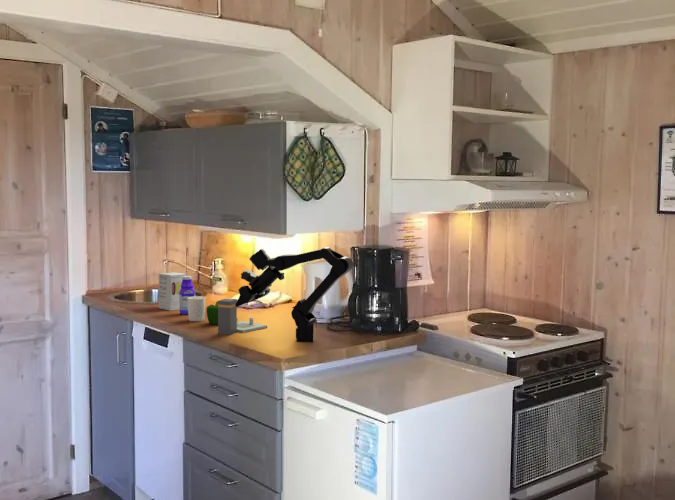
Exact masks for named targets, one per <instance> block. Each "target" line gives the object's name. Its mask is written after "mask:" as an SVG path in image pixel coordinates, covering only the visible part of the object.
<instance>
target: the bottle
mask: <svg viewBox="0 0 675 500" xmlns="http://www.w3.org/2000/svg"><path fill="white" fill-rule="evenodd" d="M192 280H193V279H192V276H191V275H186V276H183V277H182V284H181V290H180V292H179V309H178V310H179V313H180V314H181V315H189V314H188V302H187V298H188V297H192V296H196V291H195V288H194V283H193V281H192Z"/></svg>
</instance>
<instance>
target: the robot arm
mask: <svg viewBox="0 0 675 500" xmlns="http://www.w3.org/2000/svg"><path fill="white" fill-rule="evenodd" d="M322 259H323V260H325V261H326V262H327V263H328V264H329V265H330V266H332V267H331V268H330V270H329V273H328V274H327V275H326V276H325V278H324V279H323V280H322V281H321V282H320V284H318V286H317V287H316V288H315V289H314V290H313V292H311V294H310V295H308V297H307V298H301V299H300V300H298V301H297V302H296V304H295V305H294V306H293V307H291V308H292V310H291V318H292V319H293V320H294V323H295V326H296V328H295V340H296V342H304V343H305V342H308V343H309V342H311V343H313V342H314V340H315V336H314V335H315V334H314V333H315V328H314V327H315V325H314V324H315V323H316V320H317V317H316V316H315V314H313V312H314V309H315V308H316V306H317V304H318V303H319V301H320V300H321V299H323V297H324V296H325V295H326V294H327V292H329V291H330V289H331V288H332V287H333V285H335V283H337V282H338V280H340V279H341V278H342V277H344V276H345V275H346V274H348V273H349V272H351V270H353V268H354V262H353V259H352V258H350V257H348V256H344V255H342V254H341V253H339V252H337V251H336V250H334V249H332V248H331V247H329V246H327V247H322V248H320V249H316V250H311V251H308V252H303V253H299V254H282V255H279V256H276V257H272V258H271V257H270V256H269V255H268V254H267V252H266V251H265V250H264V248H261V249H259V250H258V251H256V252H255V253H253V254H252V255H251V256H250V257H249V261H250V262H251V264H252V265H254V267H255V268H256V269H257V270H258V271H260V270H261V271H263V272H262V273H260V275H258V274H257V273H255V272H254V271H252V270H249V269H245V270H243V271H242V272H241V274H240V279H241V280H245V282H248V285H242V286H241V287H240V288H238V289H237V290H238V291H237V292H238V293H239V296H238V299H236V300H237V302H236V304H235V306H236V307H237V308H238V307H241V306H244V305H246V304H248V303H252V302H254V301H256V300H259V299H261V298H263V297H265V296H267V295H269V294H270V292H271V289H270V288H271V286H272V284H273V283H274V282H275V281H276V280H277V279H279V281H282V280H285V272H283V271H284V270H288V269H291V268H294V267H295V266H297V265H300V264H303V263H304V264H305V263H307V262H308V263H309V262H313V261H317V260H322Z"/></svg>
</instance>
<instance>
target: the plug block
mask: <svg viewBox="0 0 675 500" xmlns="http://www.w3.org/2000/svg"><path fill="white" fill-rule="evenodd" d="M237 300H238V299H234V298H233V299H231V298H223V299H219V300H217V301H218V324H217V334H218V335H227V336H232V335H234V334H236V333H237V318H238V316H237V315H238V311H237V310H238V307H236V306H235V304H236V302H237Z"/></svg>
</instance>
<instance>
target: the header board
mask: <svg viewBox="0 0 675 500" xmlns="http://www.w3.org/2000/svg"><path fill="white" fill-rule="evenodd" d="M266 327H267V328H268V325H267V324H263V323H258V322H254V317H249V321H247V320H246V321H245V320H240V321H239V318H238V317H237V332H238V333H243V334H244V333H249V332H253V331H258V329H259V330H262V328H263V329H267V328H266ZM237 332H236V333H237Z"/></svg>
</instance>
